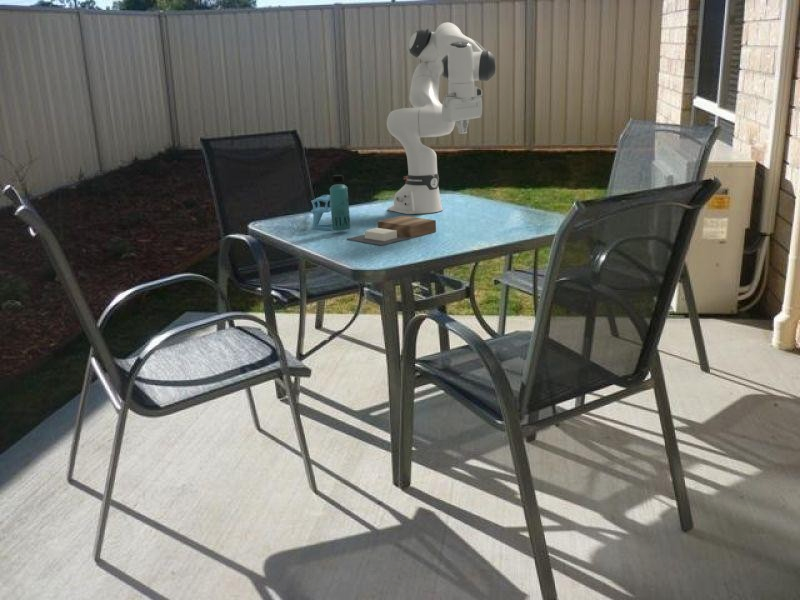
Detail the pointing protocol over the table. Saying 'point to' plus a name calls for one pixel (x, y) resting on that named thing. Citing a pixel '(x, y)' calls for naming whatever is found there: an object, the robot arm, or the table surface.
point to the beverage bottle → (339, 204)
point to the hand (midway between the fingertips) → (462, 133)
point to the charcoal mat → (378, 242)
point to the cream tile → (380, 234)
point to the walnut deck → (409, 226)
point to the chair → (321, 213)
